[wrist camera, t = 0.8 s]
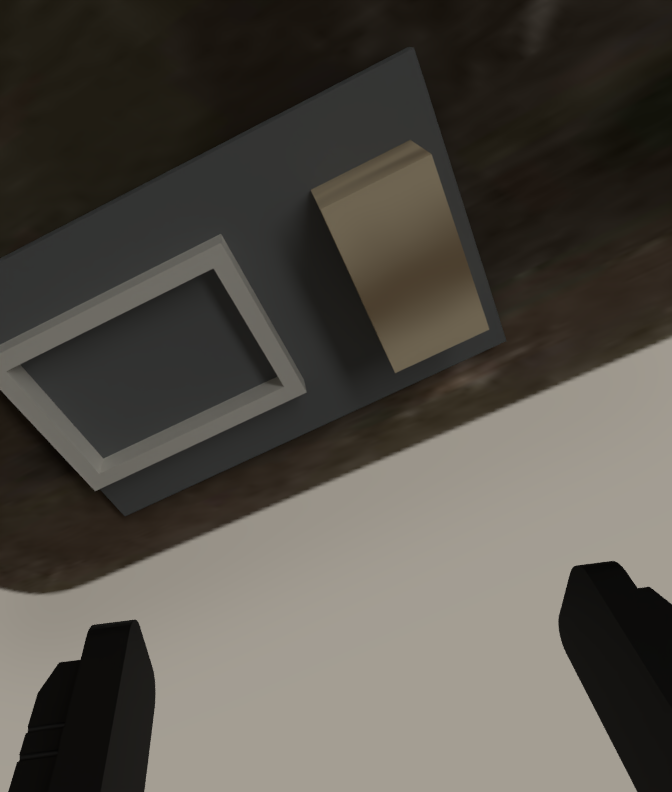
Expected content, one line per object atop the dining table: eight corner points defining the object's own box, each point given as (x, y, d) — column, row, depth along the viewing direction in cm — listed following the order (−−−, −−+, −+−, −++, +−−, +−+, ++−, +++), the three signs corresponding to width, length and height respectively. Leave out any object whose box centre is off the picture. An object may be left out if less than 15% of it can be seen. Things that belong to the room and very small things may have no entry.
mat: (408, 46, 24) (413, 47, 23) (500, 333, 31) (506, 340, 30) (-68, 293, 26) (-75, 300, 25) (126, 506, 33) (125, 516, 33)
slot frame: (221, 233, 25) (221, 242, 24) (303, 379, 30) (306, 392, 29) (-14, 351, 27) (-23, 364, 26) (99, 475, 31) (95, 491, 30)
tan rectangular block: (310, 189, 25) (320, 209, 23) (410, 139, 25) (431, 154, 22) (380, 342, 29) (395, 373, 27) (466, 302, 29) (489, 329, 26)
